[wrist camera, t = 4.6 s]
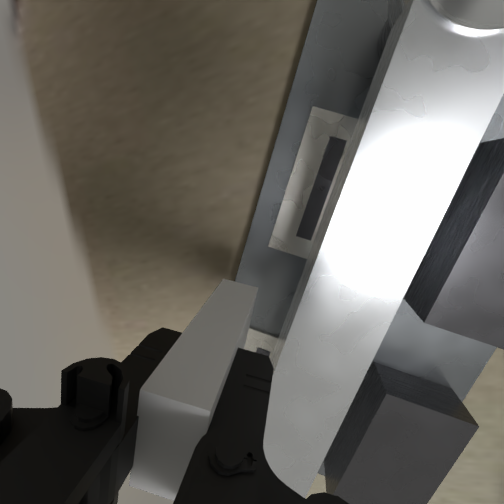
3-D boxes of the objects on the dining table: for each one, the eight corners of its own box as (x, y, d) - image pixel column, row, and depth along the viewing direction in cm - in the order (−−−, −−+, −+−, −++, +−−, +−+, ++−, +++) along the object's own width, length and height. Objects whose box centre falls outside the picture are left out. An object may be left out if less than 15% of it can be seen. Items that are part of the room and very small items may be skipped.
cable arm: (420, -101, 9) (473, -223, 6) (557, -70, 8) (677, -186, 6) (229, 444, 15) (213, 501, 13) (302, 472, 15) (303, 537, 12)
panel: (326, -23, 13) (338, -109, 9) (651, 57, 12) (824, -2, 8) (198, 411, 21) (174, 468, 17) (391, 484, 20) (415, 564, 16)
